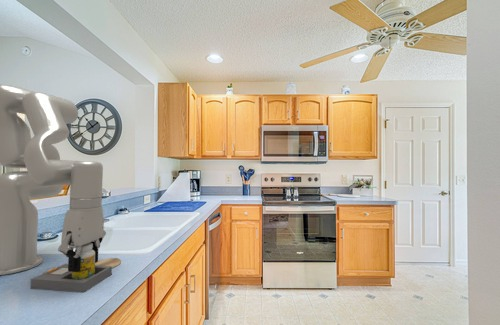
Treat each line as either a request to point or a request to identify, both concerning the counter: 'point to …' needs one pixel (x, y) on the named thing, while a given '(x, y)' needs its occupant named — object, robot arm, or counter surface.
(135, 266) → the counter surface
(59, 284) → the gray rectangular fixture
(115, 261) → the cork coaster
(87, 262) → the supplement bottle
